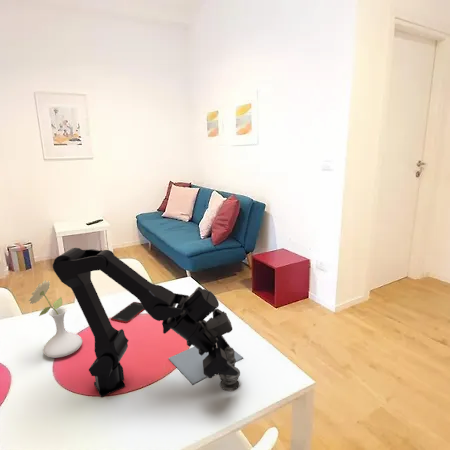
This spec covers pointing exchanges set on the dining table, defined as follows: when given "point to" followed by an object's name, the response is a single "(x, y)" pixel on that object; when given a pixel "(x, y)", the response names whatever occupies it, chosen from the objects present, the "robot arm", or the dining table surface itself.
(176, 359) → the mat
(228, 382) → the dark grey chess piece
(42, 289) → the flower in vase
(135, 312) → the cell phone
